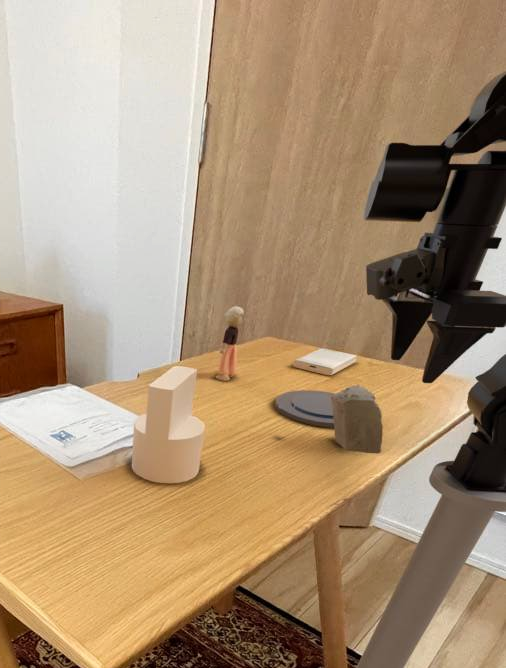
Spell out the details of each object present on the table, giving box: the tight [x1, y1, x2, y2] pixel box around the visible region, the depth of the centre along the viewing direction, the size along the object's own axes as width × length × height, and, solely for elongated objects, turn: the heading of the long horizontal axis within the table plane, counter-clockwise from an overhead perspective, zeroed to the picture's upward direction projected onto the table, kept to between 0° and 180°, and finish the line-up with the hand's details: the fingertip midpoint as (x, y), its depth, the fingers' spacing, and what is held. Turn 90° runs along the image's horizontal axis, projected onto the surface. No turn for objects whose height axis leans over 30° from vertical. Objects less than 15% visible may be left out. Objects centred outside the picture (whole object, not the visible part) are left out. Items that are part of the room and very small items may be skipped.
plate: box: [274, 389, 336, 429], centre depth 83 cm, size 15×15×1 cm
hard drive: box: [292, 348, 358, 376], centre depth 103 cm, size 2×8×12 cm
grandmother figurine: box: [215, 305, 245, 382], centre depth 93 cm, size 8×4×13 cm, turn 162°
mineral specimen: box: [331, 384, 383, 454], centre depth 70 cm, size 7×9×8 cm
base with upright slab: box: [131, 365, 206, 484], centre depth 62 cm, size 9×9×12 cm
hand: (410, 370), depth 62 cm, fingers open, 9 cm apart
